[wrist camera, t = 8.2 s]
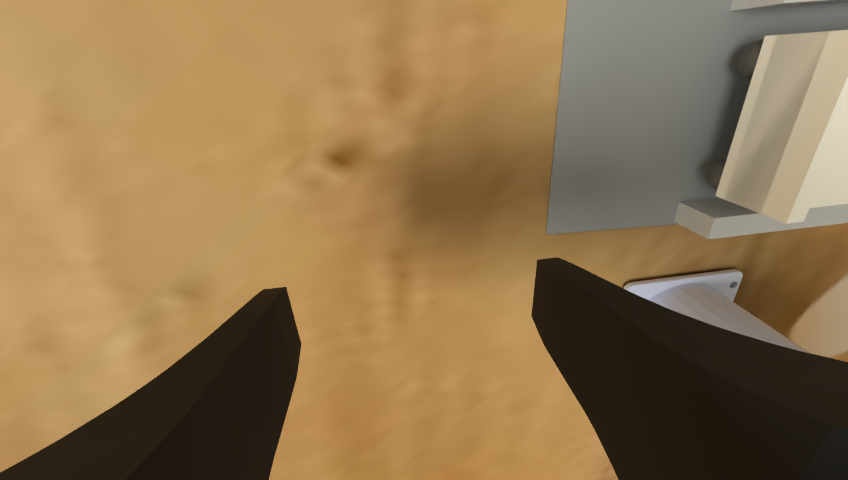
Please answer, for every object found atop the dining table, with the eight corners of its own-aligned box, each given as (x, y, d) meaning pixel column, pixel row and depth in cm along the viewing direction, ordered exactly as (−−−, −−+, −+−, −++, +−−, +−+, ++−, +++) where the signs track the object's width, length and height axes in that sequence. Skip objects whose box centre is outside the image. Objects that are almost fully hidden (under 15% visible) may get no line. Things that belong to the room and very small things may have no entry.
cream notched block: (816, 174, 20) (937, 205, 15) (693, 188, 19) (783, 224, 15) (879, 27, 17) (1053, 14, 12) (734, 38, 16) (865, 28, 12)
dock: (809, 199, 23) (903, 229, 19) (541, 230, 22) (580, 269, 17) (910, -34, 18) (1073, -63, 13) (562, -12, 16) (625, -37, 12)
